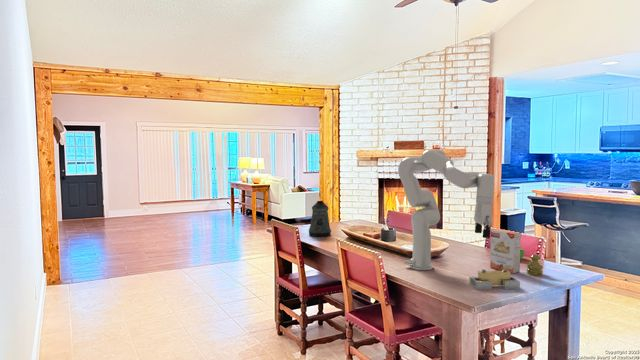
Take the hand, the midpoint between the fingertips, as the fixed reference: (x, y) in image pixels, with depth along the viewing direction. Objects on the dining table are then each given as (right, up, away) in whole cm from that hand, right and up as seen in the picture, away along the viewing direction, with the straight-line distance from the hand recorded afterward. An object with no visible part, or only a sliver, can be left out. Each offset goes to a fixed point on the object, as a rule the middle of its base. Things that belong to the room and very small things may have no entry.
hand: (482, 235), depth 220 cm
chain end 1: (-3, -23, -7) cm, 24 cm away
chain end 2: (+10, -23, -6) cm, 26 cm away
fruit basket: (+34, -19, +45) cm, 60 cm away
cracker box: (+19, -21, +22) cm, 36 cm away
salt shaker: (+32, -22, +14) cm, 41 cm away
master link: (+3, -22, -6) cm, 23 cm away
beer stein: (-78, -14, +119) cm, 143 cm away
